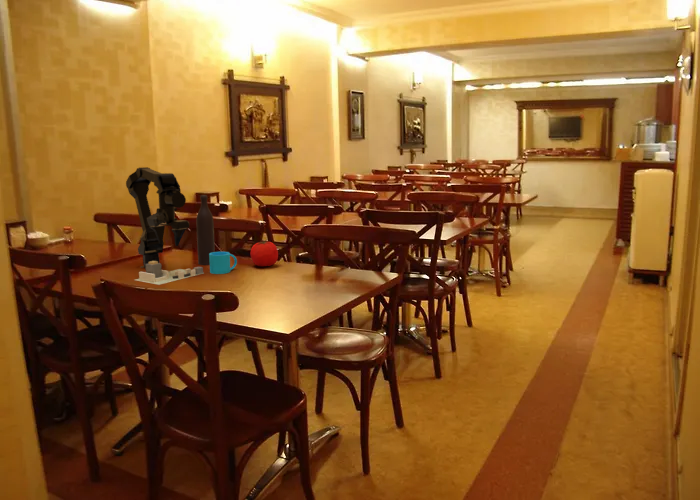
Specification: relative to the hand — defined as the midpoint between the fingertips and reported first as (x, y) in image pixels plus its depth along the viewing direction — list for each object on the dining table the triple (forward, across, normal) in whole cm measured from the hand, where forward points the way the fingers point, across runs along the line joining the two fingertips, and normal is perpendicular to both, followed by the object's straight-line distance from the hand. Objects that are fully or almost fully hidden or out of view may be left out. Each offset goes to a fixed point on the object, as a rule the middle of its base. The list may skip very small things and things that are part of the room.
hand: (168, 244), depth 236 cm
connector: (+11, +3, -11) cm, 16 cm away
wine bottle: (+12, -1, +21) cm, 24 cm away
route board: (+12, +5, -4) cm, 14 cm away
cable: (+11, +10, -2) cm, 15 cm away
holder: (+11, +4, -11) cm, 16 cm away
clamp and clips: (+11, +10, +1) cm, 15 cm away
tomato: (+12, +22, +32) cm, 41 cm away
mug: (+12, +16, +14) cm, 25 cm away
